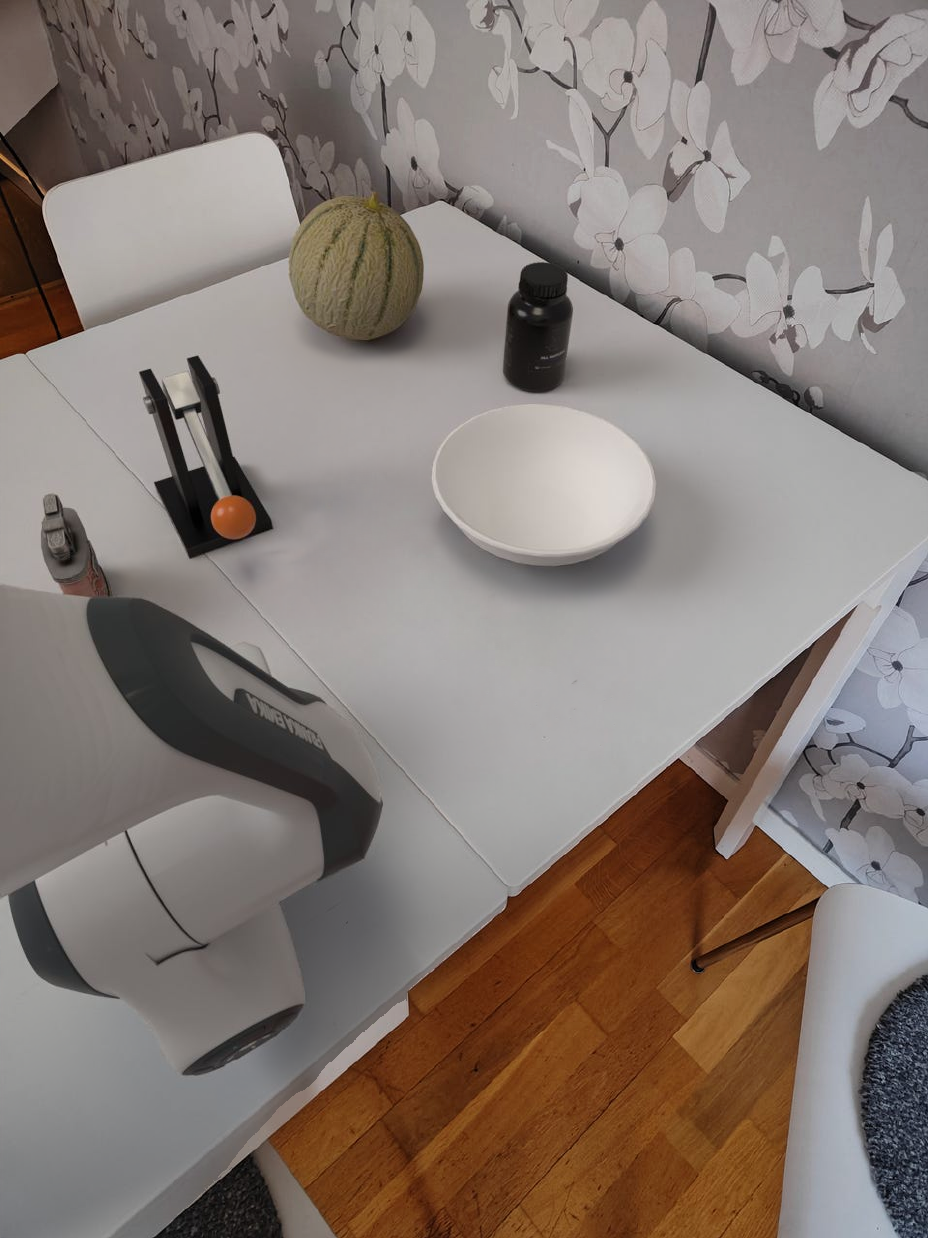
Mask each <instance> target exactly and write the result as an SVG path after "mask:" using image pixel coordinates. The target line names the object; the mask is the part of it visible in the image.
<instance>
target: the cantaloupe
mask: <svg viewBox="0 0 928 1238" xmlns="http://www.w3.org/2000/svg"><path fill="white" fill-rule="evenodd" d="M424 269H425V266H424V257H423V252H422V249H421V246H420V243H419V240H418V239H417V237H416V235H415V233H414V231H413V230H412V227H411V226H410V225H409V223H408V222H407V221H406V220H405V218H404V217H403V216H402V215H401V214H400V213H399V212H398V211H396V210H395V209H393V208H392V207H390V206H389V205H387V204H386V203H383V202H380V201H379V196H378V193H377V191H375V190H373V191H371V196H370V197H369V196H366V197H365V196H364V197H363V196H354V195H350V194H349V195H342V196H338V197H334V198H332V199H327V200H325V201H323V202H322V203H320V204H318V205H317V206H315V207H314V208H313V209H312V210H311V211H310V212H309V213H308V214H307V215H306V216H305V217H304V219H303V220H302V221H301V223H300V224H299V226H298V228H297V230H296V231H295V234H294V236H293V238H292V243H291V245H290V249H289V253H288V271H289V272H288V277H289V281H290V284H291V287H292V291H293V294H294V298H295V300H296V303H297V304H298V307H299V308H300V309H301V312H302V314H304V315H305V316H306V318H308V319H309V320H311V321H312V322H313V324H314V325H316V326H317V327H319V328H321V329H323V330H324V331H325V332H327V333H329V334H332V335H335V336H337V337H341V338H346V339H347V340H348V339H349V340H363V341H368V340H374V339H377V338H380V337H384V336H386V335H388V334H390V333H391V332H394V331H395V330H397V329H398V328H399V327H400V326H402V324H404V323H405V322H406V320H407V319H408V318H409V316H411V314H412V313H413V311H414V310H415V308H416V306H417V304H418V302H419V299H420V296H421V293H422V291H423V285H424V273H425V271H424Z"/></svg>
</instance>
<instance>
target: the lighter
mask: <svg viewBox="0 0 928 1238" xmlns="http://www.w3.org/2000/svg"><path fill="white" fill-rule="evenodd" d="M42 507H43V513H44V514H43V515H44V516H43V519H42V521H41V529H40V530H41V531H40V549H41V552H42V557H43V560H44V563H45V565H46V567H47V570H48V573H49V574H50V576H51V578H52V579H53V581H54V583H57V584H58V585H59V587H60V589H61V591H62V594H67V595H76V596H84V597H91V598H92V597H93V596H113V597H114V594H113V591H112V588H111V584H110V582H109V580H108V577H107V576H106V574H105V571H104V570H103V567H102V566H101V565H100V564H99V562H98V558H97V554H96V551H95V549H94V547H93V545H92V542H91V541H90V539H88V535H87V531H86V529H85V526H84V524H83V522H82V520H81V518H80V516H79V514H78V512H77V511H76V510H75V509H74V508H73V507H72V508H71V507H63V504H62V501H61V499H60V497H59V495H58V494H56V493H47V494H45V495H44V496H43V498H42Z"/></svg>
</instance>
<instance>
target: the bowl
mask: <svg viewBox="0 0 928 1238" xmlns="http://www.w3.org/2000/svg"><path fill="white" fill-rule="evenodd" d="M431 483H432V488H433V492H434V496H435V498H436V500H437V502H438V503H439V505H440V506H441V508H442V511H444V512H445V513H446V514H447V516H448V517H449V518H450V519H451V520H452V521H453V522H454V524H456V525H457V527H458V528H459V529H460V530H461V532H462V533H463V534H464V535H465V536H466V537H467V539H469V540H471V541H472V542H473V543H474V544H476V545H477V546H478V547H479V548H481V549H482V550H484V551H487V552H488V553H490V554H492V555H494V556H496V557H499V558H502V559H504V560H508V561H510V562H514V563H517V564H524V565H530V566H541V567H558V566H566V565H574V564H577V563H580V562H581V563H582V562H584V561H588V560H591V559H594V558H596V557H597V556H599V555H601V554H603V553H606V552H607V551H608V550H610V549H611V548H612V547H614V546H615V545H616V544H617V543H618V542H620V541H622V540H624V539H625V538H626V537H628V536H629V535H631V534H632V533H633V532H634V531H636V530H637V529H639V527H640V526H641V525H642V524H643V522H644V521H645V520H646V518H647V517H648V516H649V514H650V512H651V510H652V508H653V505H654V503H655V500H656V493H657V492H656V491H657V481H656V475H655V470H654V467H653V464H652V463H651V461H650V459H649V457H648V454H647V452H645V451H644V449H643V448H642V446H641V445H640V444H639V443H638V441H636V440H635V439H634V438H633V437H632V436H631V435H629V434H628V433H627V432H626V431H625V430H623V429H622V428H620V427H619V426H617V425H616V424H614V423H612V422H611V421H609V420H607V419H606V418H605V419H604V418H602V417H600V416H597V415H596V414H593V413H590V412H587V411H584V410H580V409H576V408H573V407H569V406H563V405H556V404H547V403H546V404H544V403H543V404H542V403H526V404H515V405H506V406H503V407H500V408H494V409H491V410H488V411H485V412H483V413H481V414H478V415H475V416H473V417H471V418H469V419H468V420H466V421H465V422H463V423H462V424H460V425H458V426H457V427H456V428H455V429H454V430H453V431H451V433H449V434H448V435H447V436H446V437H445V438H444V440H443V442H442V443H441V445H440V446H439V447H438V449H437V451H436V454H435V456H434V459H433V462H432V467H431Z"/></svg>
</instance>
